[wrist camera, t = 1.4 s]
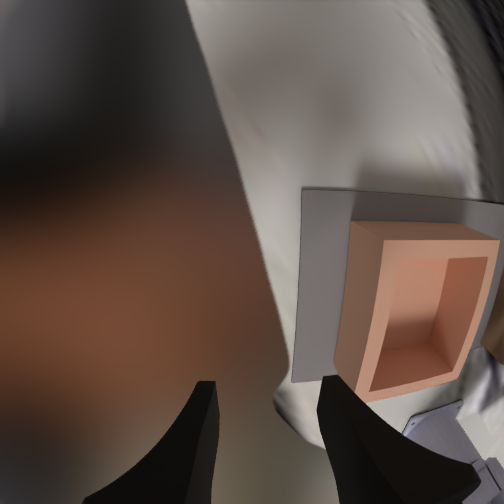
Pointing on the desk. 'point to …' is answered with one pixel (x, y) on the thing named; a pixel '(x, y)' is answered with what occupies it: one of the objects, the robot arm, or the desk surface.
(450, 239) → the socket block
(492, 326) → the end wall
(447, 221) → the mat
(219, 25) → the desk surface
